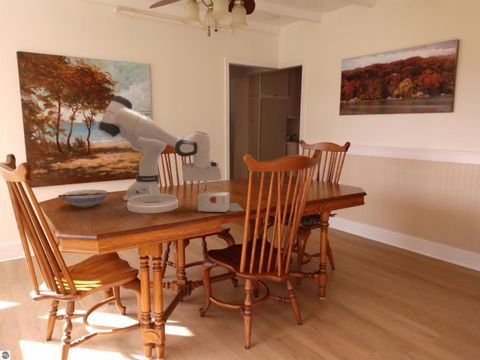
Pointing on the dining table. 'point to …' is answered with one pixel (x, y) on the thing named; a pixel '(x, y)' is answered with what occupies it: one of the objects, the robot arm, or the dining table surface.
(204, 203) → the supplement box
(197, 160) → the robot arm
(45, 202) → the dining table surface
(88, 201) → the ramen bowl
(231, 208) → the grey flat slab
